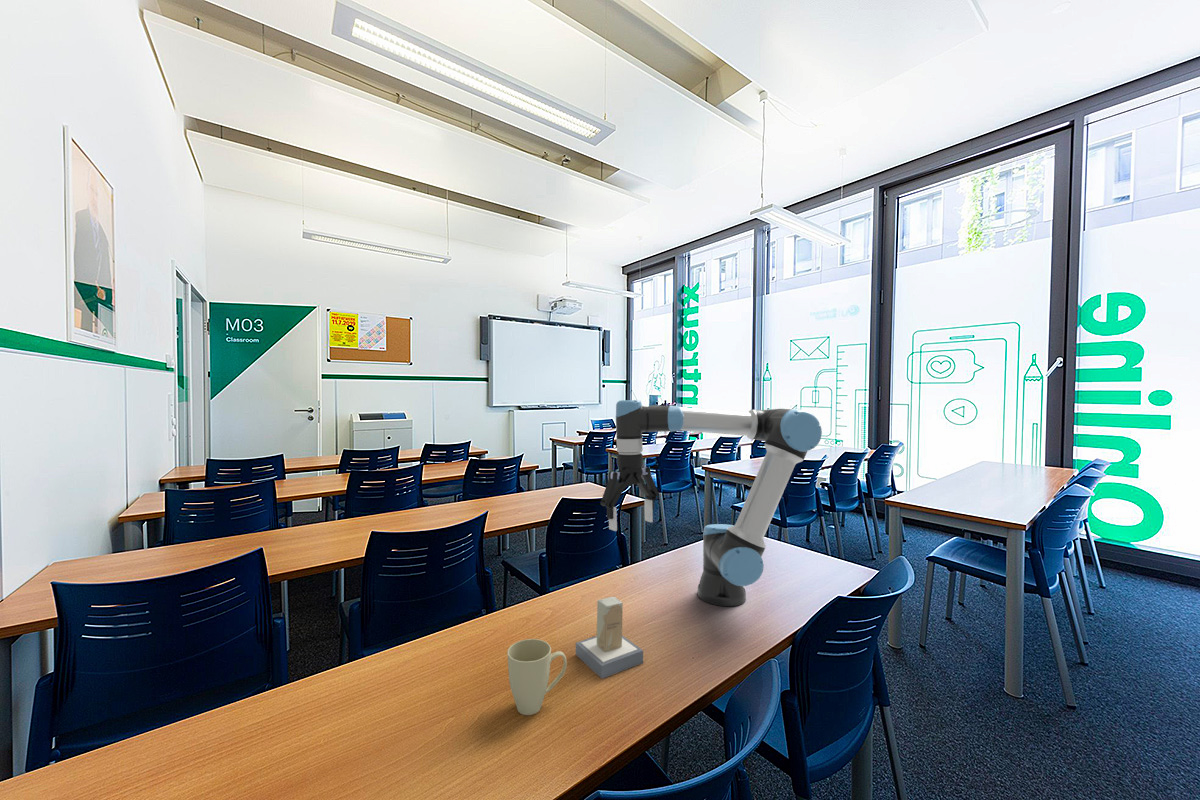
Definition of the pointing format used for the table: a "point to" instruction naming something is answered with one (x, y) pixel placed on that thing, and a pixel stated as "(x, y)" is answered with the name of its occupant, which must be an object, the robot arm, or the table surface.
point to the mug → (531, 673)
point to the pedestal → (608, 656)
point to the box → (609, 623)
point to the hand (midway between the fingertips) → (631, 525)
